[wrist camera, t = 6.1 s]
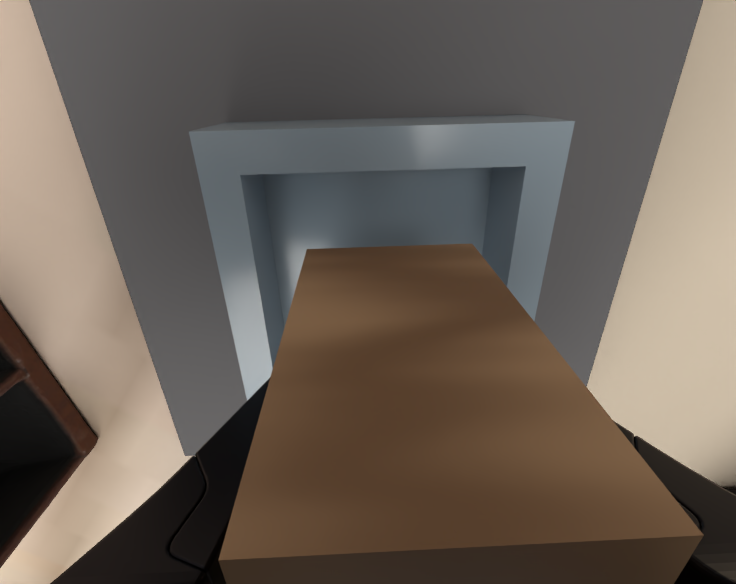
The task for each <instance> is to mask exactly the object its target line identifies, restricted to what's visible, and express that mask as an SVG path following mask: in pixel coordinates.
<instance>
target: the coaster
mask: <svg viewBox="0 0 736 584" xmlns="http://www.w3.org/2000/svg"><path fill="white" fill-rule="evenodd" d="M29 1H30V4H31V7H32V10H33V13H34V16H35V19H36V22H37V25H38V28H39V31H40V33H41V36H42V39H43V42H44V45H45V48H46V51H47V54H48V57H49V60H50V63H51V66H52V69H53V71H54V74H55V77H56V80H57V83H58V86H59V89H60V92H61V95H62V98H63V101H64V104H65V107H66V109H67V112H68V115H69V118H70V121H71V124H72V127H73V130H74V133H75V136H76V139H77V142H78V145H79V147H80V150H81V153H82V156H83V159H84V162H85V165H86V168H87V171H88V174H89V177H90V180H91V183H92V185H93V188H94V191H95V194H96V197H97V200H98V203H99V206H100V209H101V212H102V215H103V218H104V220H105V223H106V226H107V229H108V232H109V235H110V238H111V241H112V244H113V247H114V250H115V253H116V256H117V258H118V261H119V264H120V267H121V270H122V273H123V276H124V279H125V282H126V285H127V288H128V291H129V294H130V296H131V299H132V302H133V305H134V308H135V311H136V314H137V317H138V320H139V323H140V326H141V329H142V332H143V334H144V337H145V340H146V343H147V346H148V349H149V352H150V355H151V358H152V361H153V364H154V367H155V370H156V372H157V375H158V378H159V381H160V384H161V387H162V390H163V393H164V396H165V399H166V402H167V405H168V407H169V410H170V413H171V416H172V419H173V422H174V425H175V428H176V431H177V434H178V437H179V440H180V443H181V445H182V448H183V451H184V454H185V456H193V455H195V453H196V452H197V451H198V450H199V449H200V448H201V447H202V446H203V445H204V444H205V443H206V442H207V441H208V440H209V439H210V438H211V437H212V436H213V435H214V434H215V433H216V432H217V431H218V430H219V429H220V428H221V427H222V426H223V425H224V424H225V423H226V422H227V421H228V420H229V419H230V418H231V417H232V416H233V415H234V414H235V413H236V412H237V411H238V410H239V408H240V407H241V406H242V405H243V404H244V403H245V402H246V401H247V398H246V394H245V389H244V384H243V380H242V375H241V370H240V366H239V361H238V357H237V352H236V347H235V343H234V338H233V334H232V329H231V324H230V320H229V315H228V311H227V306H226V301H225V297H224V292H223V287H222V283H221V278H220V274H219V269H218V264H217V260H216V255H215V251H214V246H213V241H212V237H211V232H210V228H209V223H208V218H207V214H206V209H205V204H204V200H203V195H202V191H201V186H200V181H199V177H198V172H197V168H196V163H195V158H194V154H193V149H192V145H191V140H190V135H189V131H193V130H197V129H201V128H205V127H209V126H213V125H217V124H221V123H225V122H254V121H291V120H328V119H365V118H402V117H439V116H476V115H514V114H527V115H534V116H541V117H549V118H556V119H563V120H571V121H575V124H574V128H573V133H572V138H571V143H570V148H569V153H568V158H567V163H566V168H565V173H564V178H563V183H562V188H561V192H560V197H559V202H558V207H557V212H556V217H555V222H554V227H553V232H552V237H551V242H550V247H549V251H548V256H547V261H546V266H545V271H544V276H543V281H542V286H541V291H540V296H539V301H538V306H537V310H536V315H535V320H534V322H535V323H536V324H537V326H538V327H539V328H540V329H541V331H542V332H543V333H544V334H545V336H546V337H547V338H548V339H549V341H550V342H551V343H552V345H553V346H554V347H555V348H556V350H557V351H558V352H559V353H560V355H561V356H562V357H563V358H564V360H565V361H566V362H567V363H568V365H569V366H570V367H571V368H572V370H573V371H574V372H575V374H576V375H577V376H578V377H579V379H580V380H581V381H582V382H583V384H584V385H585V386H587V383H588V380H589V376H590V373H591V370H592V366H593V363H594V360H595V356H596V353H597V350H598V347H599V343H600V340H601V337H602V333H603V330H604V327H605V323H606V320H607V317H608V313H609V310H610V307H611V304H612V300H613V297H614V294H615V290H616V287H617V284H618V280H619V277H620V274H621V270H622V267H623V264H624V261H625V257H626V254H627V251H628V247H629V244H630V241H631V237H632V234H633V231H634V227H635V224H636V221H637V218H638V214H639V211H640V208H641V204H642V201H643V198H644V194H645V191H646V188H647V185H648V181H649V178H650V175H651V171H652V168H653V165H654V161H655V158H656V155H657V151H658V148H659V145H660V142H661V138H662V135H663V132H664V128H665V125H666V122H667V118H668V115H669V112H670V108H671V105H672V102H673V99H674V95H675V92H676V89H677V85H678V82H679V79H680V75H681V72H682V69H683V65H684V62H685V59H686V56H687V52H688V49H689V46H690V42H691V39H692V36H693V32H694V29H695V26H696V23H697V19H698V16H699V13H700V9H701V6H702V3H703V0H29Z"/></svg>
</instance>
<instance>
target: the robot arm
mask: <svg viewBox="0 0 736 584" xmlns="http://www.w3.org/2000/svg"><path fill="white" fill-rule="evenodd" d="M269 380H270V378H269V379H268V380H267V381H266V382H265V383H264V384H263V385H262V386H261V387H260V388H259V389H258V390H257V391H256V392H255V393H254V394H253V395H252V396H251V397H250V398H249V399H248V400H247V401H246V402H245V403H244V404H243V405H242V406H241V407H240V408H239V410H238V411H237V412H236V413H235V414H234V415H233V416H232V417H231V418H230V419H229V420H228V421H227V422H226V423H225V424H224V425H223V426H222V427H221V428H220V429H219V430H218V431H217V432H216V433H215V434H214V435H213V436H212V437H211V438H210V439H209V440H208V441H207V442H206V443H205V444H204V445H203V446H202V447H201V448H200V449H199V450H198V451H197V452H196V453H195V456H196V457H195V456H192V457H191V458H190V459H189V460H188V461H187V462H186V463H185V464H184V465H183V466H182V467H181V468H180V469H179V470H178V471H177V472H176V473H175V474H174V475H173V476H172V477H171V478H170V479H169V480H168V481H167V482H166V483H165V484H164V485H163V486H162V487H161V488H160V489H159V490H158V491H157V492H155V493H154V494H153V495H152V496H151V497H150V498H149V499H148V500H147V501H145V502H144V503H143V504H142V505H141V506H140V507H139V508H138V509H136V510H135V511H134V512H133V513H132V514H131V515H130V516H129V517H127V518H126V519H125V520H124V521H123V522H122V523H120V524H119V525H118V526H117V527H116V528H115V529H114V530H112V531H111V532H110V533H109V534H108V535H107V536H105V537H104V538H103V539H102V540H101V541H100V542H98V543H97V544H96V545H95V546H94V547H93V548H91V549H90V550H89V551H88V552H87V553H86V554H84V555H83V556H82V557H81V558H80V559H79V560H78V561H76V562H75V563H74V564H73V565H72V566H71V567H69V568H68V569H67V570H66V571H65V572H64V573H62V574H61V575H60V576H59V577H58V578H57V579H55V580H54V581H53V582H52V583H50V584H226V581H225V578H224V575H223V572H222V569H221V567H220V564H219V561H218V560H219V556H220V553H221V549H222V546H223V542H224V539H225V535H226V532H227V528H228V525H229V521H230V518H231V514H232V511H233V507H234V503H235V500H236V496H237V493H238V489H239V486H240V482H241V479H242V475H243V472H244V468H245V465H246V461H247V458H248V454H249V451H250V447H251V444H252V440H253V437H254V433H255V430H256V426H257V423H258V419H259V416H260V412H261V409H262V405H263V402H264V398H265V395H266V391H267V388H268V384H269ZM614 423H615V424H616V425H617V426H618V428H619V429H620V430H621V431H622V433H623V434H624V435H625V437H626V438H627V439H628V440H629V442H630V443H631V444H632V445H633V447H634V448H635V449H636V450H637V452H638V453H639V454H640V455H641V457H642V458H643V459H644V460H645V462H646V463H647V464H648V466H649V467H650V468H651V469H652V471H653V472H654V473H655V474H656V476H657V477H658V478H659V479H660V481H661V482H662V483H663V484H664V486H665V487H666V488H667V489H668V491H669V492H670V493H671V495H672V496H673V497H674V498H675V500H676V501H677V502H678V503H679V505H680V506H681V507H682V508H683V510H684V511H685V512H686V513H687V515H688V516H689V517H690V518H691V520H692V521H693V522H694V523H695V525H696V526H697V527H698V529H699V530H700V531H701V532H702V534H703V535H704V536H703V537H702V539H701V541H700V542H699V544H698V546H697V547H696V549H695V550H694V552H693V554H692V555H691V557H690V559H689V560H688V562H687V563H686V565H685V567H684V568H683V570H682V571H681V573H680V575H679V576H678V578H677V580H676V581H675V583H674V584H736V489H729V490H726V489H724V488H722V487H721V486H719V485H717V484H715V483H714V482H712V481H710V480H708V479H707V478H705V477H703V476H702V475H700V474H698V473H696V472H695V471H693V470H691V469H689V468H688V467H686V466H684V465H683V464H681V463H679V462H678V461H676V460H675V459H673V458H671V457H670V456H668V455H667V454H665V453H663V452H662V451H660V450H658V449H657V448H655V447H654V446H652V445H651V444H649V443H647V442H646V441H644V440H643V439H641V438H640V437H638V436H635V437H634V434H633V433H632V432H630V431H629V430H627V429H625V428H624V427H622V426H621V425H619V424H618V423H616V422H614Z"/></svg>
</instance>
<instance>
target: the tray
mask: <svg viewBox="0 0 736 584" xmlns="http://www.w3.org/2000/svg"><path fill="white" fill-rule="evenodd" d="M574 124H575V121H571V120H563V119H556V118H549V117H541V116H534V115H527V114H514V115H476V116H439V117H402V118H365V119H328V120H291V121H254V122H225V123H221V124H217V125H213V126H209V127H205V128H201V129H197V130H193V131H189V135H190V140H191V145H192V149H193V154H194V158H195V163H196V168H197V172H198V177H199V181H200V186H201V191H202V195H203V200H204V204H205V209H206V214H207V218H208V223H209V228H210V232H211V237H212V241H213V246H214V251H215V255H216V260H217V264H218V269H219V274H220V278H221V283H222V287H223V292H224V297H225V301H226V306H227V311H228V315H229V320H230V324H231V329H232V334H233V338H234V343H235V347H236V352H237V357H238V361H239V366H240V370H241V375H242V380H243V384H244V389H245V394H246V398H247V400H248V399H249V398H250V397H251V396H252V395H253V394H254V393H255V392H256V391H257V390H258V389H259V388H260V387H261V386H262V385H263V384H264V383H265V382H266V381H267V380H268V379H269V378H270V377H271V373H272V370H273V366H274V363H275V359H276V356H277V352H278V349H279V345H280V342H281V338H282V335H283V331H284V328H285V324H286V321H287V317H288V314H289V310H290V307H291V303H292V300H293V296H294V293H295V289H296V286H297V282H298V279H299V275H300V272H301V268H302V265H303V261H304V258H305V254H306V250H307V249H322V248H352V247H382V246H412V245H442V244H473V245H474V246H475V248H476V249H477V250H478V251H479V253H480V254H481V255H482V256H483V258H484V259H485V260H486V261H487V263H488V264H489V265H490V266H491V268H492V269H493V270H494V271H495V273H496V274H497V275H498V276H499V278H500V279H501V280H502V282H503V283H504V284H505V285H506V287H507V288H508V289H509V290H510V292H511V293H512V294H513V295H514V297H515V298H516V299H517V300H518V302H519V303H520V304H521V305H522V307H523V308H524V309H525V311H526V312H527V313H528V314H529V316H530V317H531V318H532V319H533V321H534V320H535V315H536V310H537V306H538V301H539V296H540V291H541V286H542V281H543V276H544V271H545V266H546V261H547V256H548V251H549V247H550V242H551V237H552V232H553V227H554V222H555V217H556V212H557V207H558V202H559V197H560V192H561V188H562V183H563V178H564V173H565V168H566V163H567V158H568V153H569V148H570V143H571V138H572V133H573V128H574Z"/></svg>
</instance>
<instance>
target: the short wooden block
mask: <svg viewBox="0 0 736 584" xmlns="http://www.w3.org/2000/svg"><path fill="white" fill-rule="evenodd" d="M703 536H704V535H703V534H702V532H701V531H700V530H699V529H698V527H697V526H696V525H695V523H694V522H693V521H692V520H691V518H690V517H689V516H688V515H687V513H686V512H685V511H684V510H683V508H682V507H681V506H680V505H679V503H678V502H677V501H676V500H675V498H674V497H673V496H672V495H671V493H670V492H669V491H668V489H667V488H666V487H665V486H664V484H663V483H662V482H661V481H660V479H659V478H658V477H657V476H656V474H655V473H654V472H653V471H652V469H651V468H650V467H649V466H648V464H647V463H646V462H645V460H644V459H643V458H642V457H641V455H640V454H639V453H638V452H637V450H636V449H635V448H634V447H633V445H632V444H631V443H630V442H629V440H628V439H627V438H626V437H625V435H624V434H623V433H622V431H621V430H620V429H619V428H618V426H617V425H616V424H615V423H614V421H613V420H612V419H611V418H610V416H609V415H608V414H607V413H606V411H605V410H604V409H603V408H602V406H601V405H600V404H599V403H598V401H597V400H596V399H595V397H594V396H593V395H592V394H591V392H590V391H589V390H588V389H587V387H586V386H585V385H584V384H583V382H582V381H581V380H580V379H579V377H578V376H577V375H576V374H575V372H574V371H573V370H572V368H571V367H570V366H569V365H568V363H567V362H566V361H565V360H564V358H563V357H562V356H561V355H560V353H559V352H558V351H557V350H556V348H555V347H554V346H553V345H552V343H551V342H550V341H549V339H548V338H547V337H546V336H545V334H544V333H543V332H542V331H541V329H540V328H539V327H538V326H537V324H536V323H535V322H534V321H533V319H532V318H531V317H530V316H529V314H528V313H527V312H526V311H525V309H524V308H523V307H522V305H521V304H520V303H519V302H518V300H517V299H516V298H515V297H514V295H513V294H512V293H511V292H510V290H509V289H508V288H507V287H506V285H505V284H504V283H503V282H502V280H501V279H500V278H499V276H498V275H497V274H496V273H495V271H494V270H493V269H492V268H491V266H490V265H489V264H488V263H487V261H486V260H485V259H484V258H483V256H482V255H481V254H480V253H479V251H478V250H477V249H476V248H475V246H474V245H473V244H442V245H412V246H382V247H352V248H322V249H307V250H306V254H305V258H304V261H303V265H302V268H301V272H300V275H299V279H298V282H297V286H296V289H295V293H294V296H293V300H292V303H291V307H290V310H289V314H288V317H287V321H286V324H285V328H284V331H283V335H282V338H281V342H280V345H279V349H278V352H277V356H276V359H275V363H274V366H273V370H272V373H271V377H270V380H269V384H268V388H267V391H266V395H265V398H264V402H263V405H262V409H261V412H260V416H259V419H258V423H257V426H256V430H255V433H254V437H253V440H252V444H251V447H250V451H249V454H248V458H247V461H246V465H245V468H244V472H243V475H242V479H241V482H240V486H239V489H238V493H237V496H236V500H235V503H234V507H233V511H232V514H231V518H230V521H229V525H228V528H227V532H226V535H225V539H224V542H223V546H222V549H221V553H220V556H219V560H218V561H219V564H220V567H221V569H222V572H223V575H224V578H225V581H226V584H674V583H675V581H676V580H677V578H678V576H679V575H680V573H681V571H682V570H683V568H684V567H685V565H686V563H687V562H688V560H689V559H690V557H691V555H692V554H693V552H694V550H695V549H696V547H697V546H698V544H699V542H700V541H701V539H702V537H703Z"/></svg>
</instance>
